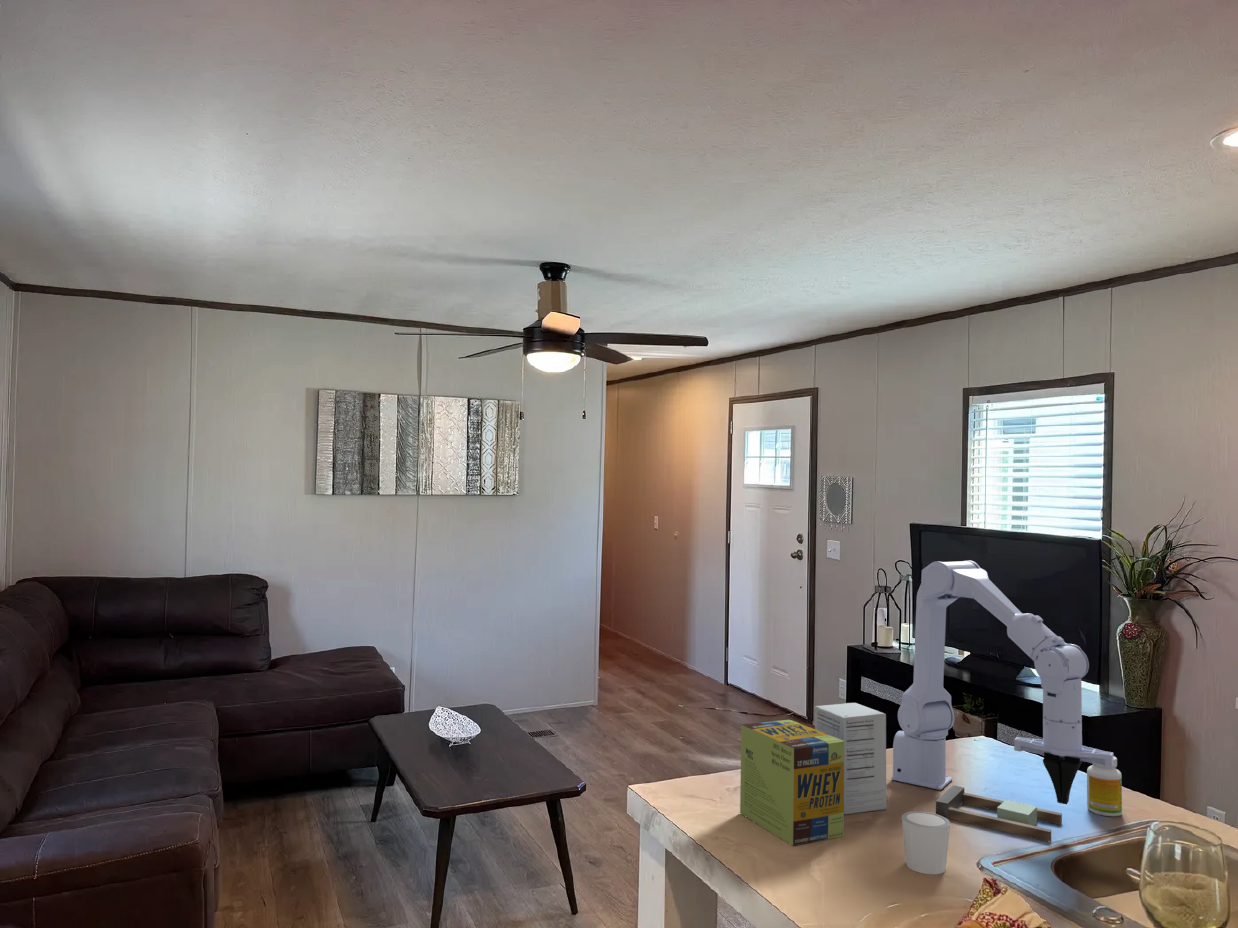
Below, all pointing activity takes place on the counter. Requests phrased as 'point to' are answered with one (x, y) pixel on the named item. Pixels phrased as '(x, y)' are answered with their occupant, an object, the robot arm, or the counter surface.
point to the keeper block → (1017, 812)
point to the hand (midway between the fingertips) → (1063, 801)
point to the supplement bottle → (1104, 789)
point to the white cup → (925, 841)
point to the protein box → (792, 781)
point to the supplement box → (858, 752)
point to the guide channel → (956, 797)
